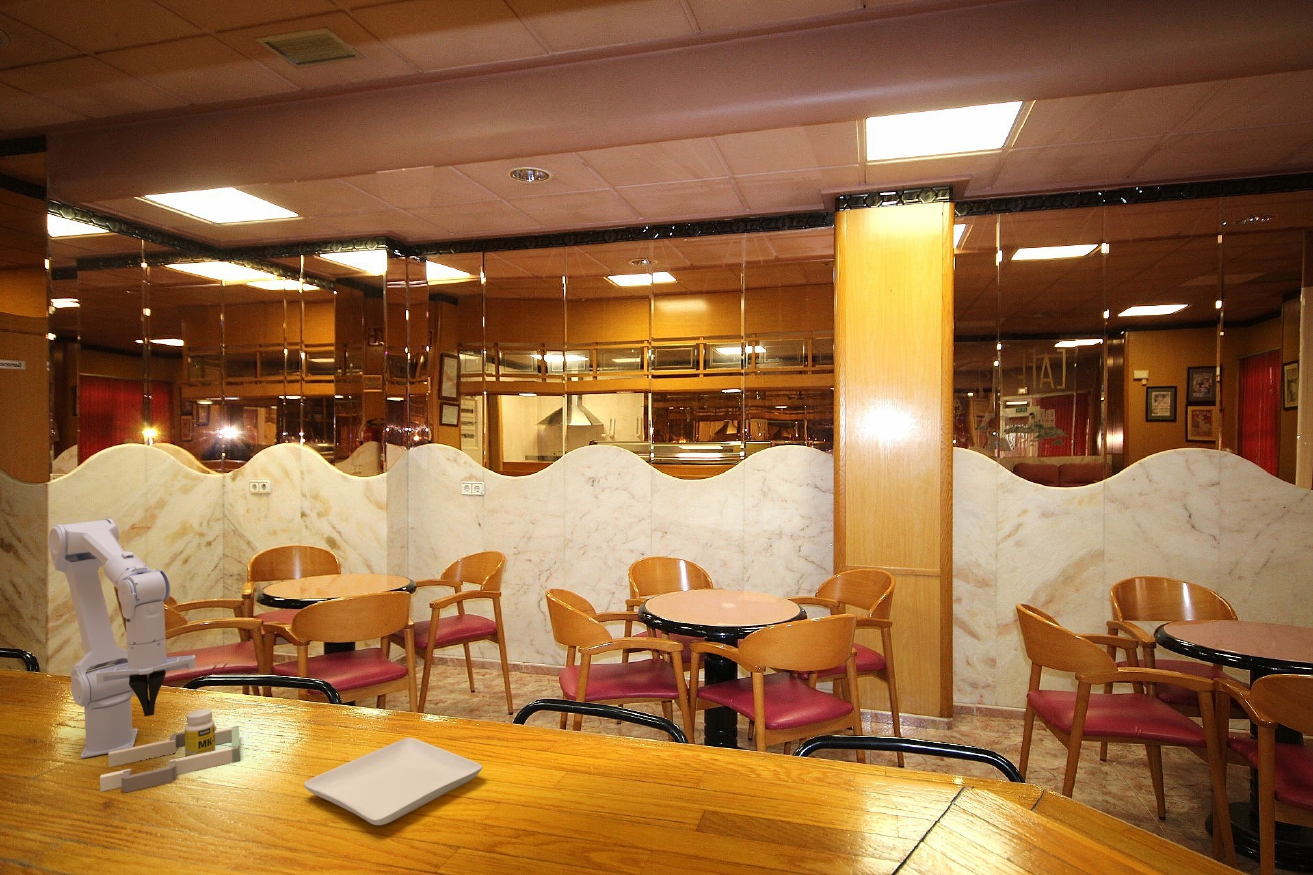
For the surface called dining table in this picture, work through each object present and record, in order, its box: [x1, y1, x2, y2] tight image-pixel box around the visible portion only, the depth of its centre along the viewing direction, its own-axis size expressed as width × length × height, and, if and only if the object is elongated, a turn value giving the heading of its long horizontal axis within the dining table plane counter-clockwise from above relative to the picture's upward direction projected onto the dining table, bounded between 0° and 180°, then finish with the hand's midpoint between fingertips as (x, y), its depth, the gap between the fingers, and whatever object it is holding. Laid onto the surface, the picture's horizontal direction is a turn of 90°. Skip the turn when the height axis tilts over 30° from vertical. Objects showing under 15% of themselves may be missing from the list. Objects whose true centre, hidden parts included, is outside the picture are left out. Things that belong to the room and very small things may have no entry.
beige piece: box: [99, 725, 241, 794], centre depth 134 cm, size 17×21×2 cm
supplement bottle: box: [184, 708, 216, 757], centre depth 136 cm, size 5×5×8 cm
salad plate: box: [303, 737, 484, 826], centre depth 123 cm, size 21×21×3 cm
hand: (149, 713), depth 132 cm, fingers closed
